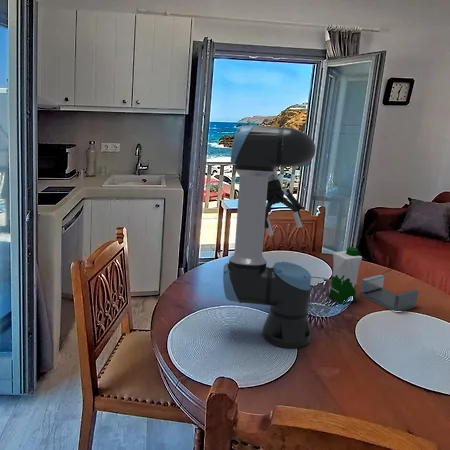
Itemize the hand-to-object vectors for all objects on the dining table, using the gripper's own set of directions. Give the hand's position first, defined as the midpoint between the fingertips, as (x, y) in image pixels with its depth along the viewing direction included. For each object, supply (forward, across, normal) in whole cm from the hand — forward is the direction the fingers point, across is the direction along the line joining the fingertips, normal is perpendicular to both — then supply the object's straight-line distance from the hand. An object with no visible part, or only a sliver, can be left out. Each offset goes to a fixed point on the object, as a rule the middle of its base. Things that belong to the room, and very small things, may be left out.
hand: (285, 231), depth 176 cm
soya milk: (+31, -9, +10) cm, 34 cm away
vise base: (+37, -24, +16) cm, 47 cm away
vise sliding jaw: (+32, -24, +10) cm, 41 cm away
